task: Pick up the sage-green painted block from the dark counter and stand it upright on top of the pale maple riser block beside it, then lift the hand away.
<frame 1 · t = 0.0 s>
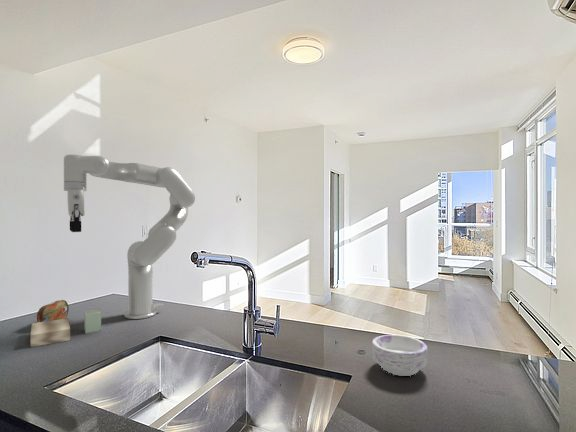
hand: (75, 231, 134), 37 cm above the worktop, tool pointing down, fingers open, 9 cm apart
white round bowl: (398, 370, 100), on the worktop
riser block: (50, 337, 122), on the worktop
tin: (53, 324, 137), on the worktop
block: (92, 330, 130), on the worktop
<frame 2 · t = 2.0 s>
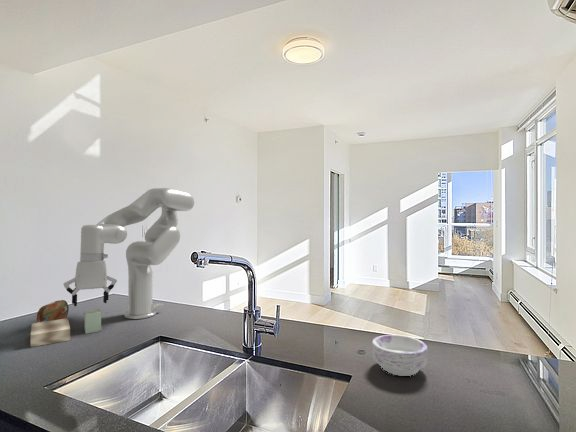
hand: (90, 303, 129), 10 cm above the worktop, tool pointing down, fingers open, 9 cm apart
nothing on the worktop moved.
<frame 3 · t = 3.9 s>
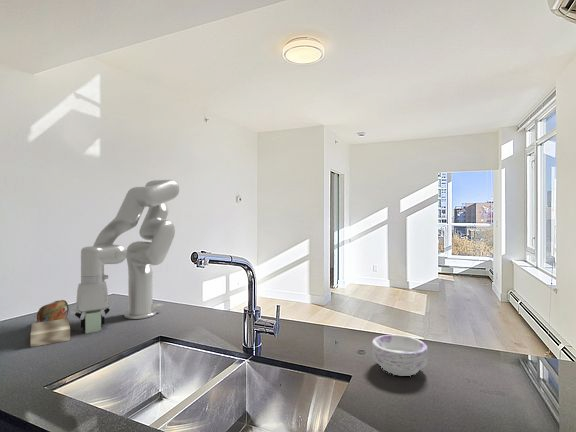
hand: (92, 327, 130), 1 cm above the worktop, tool pointing down, fingers closed on block, 5 cm apart
block: (92, 330, 130), on the worktop, touching gripper
everything else where it was.
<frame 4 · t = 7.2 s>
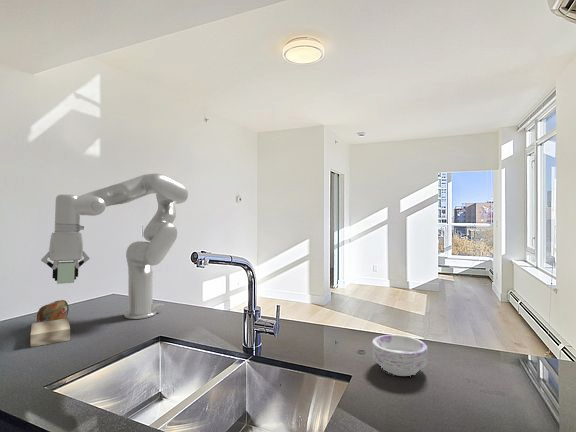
hand: (65, 279, 124), 20 cm above the worktop, tool pointing down, fingers closed on block, 5 cm apart
block: (65, 282, 124), point 19 cm above the worktop, touching gripper
everything else where it was.
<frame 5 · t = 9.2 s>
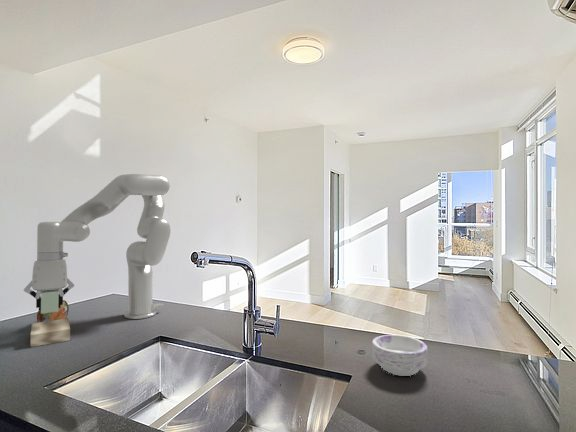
hand: (49, 307, 122), 11 cm above the worktop, tool pointing down, fingers closed on block, 5 cm apart
block: (49, 310, 122), point 9 cm above the worktop, touching gripper
everything else where it was.
when the fingers open (6 cm above the worktop, at t = 10.8 s): block drops 1 cm, resting on riser block.
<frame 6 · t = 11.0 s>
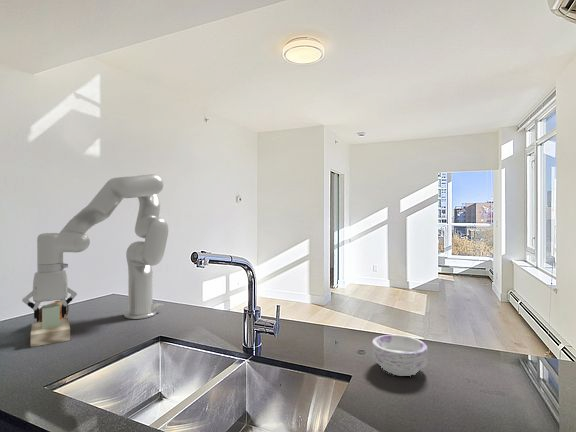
hand: (50, 318, 122), 7 cm above the worktop, tool pointing down, fingers open, 6 cm apart
block: (51, 325, 122), point 4 cm above the worktop, touching riser block
everything else where it was.
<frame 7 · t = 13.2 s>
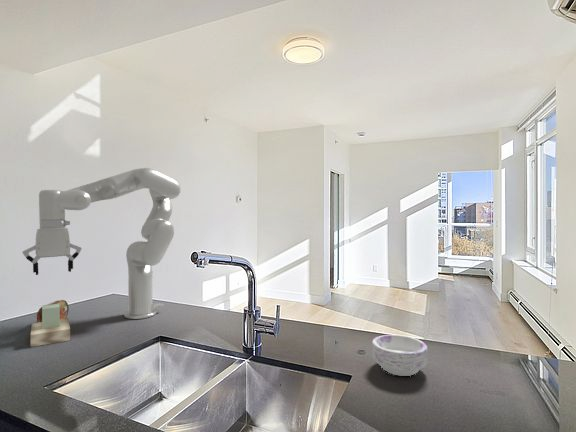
hand: (53, 272, 123), 23 cm above the worktop, tool pointing down, fingers open, 9 cm apart
nothing on the worktop moved.
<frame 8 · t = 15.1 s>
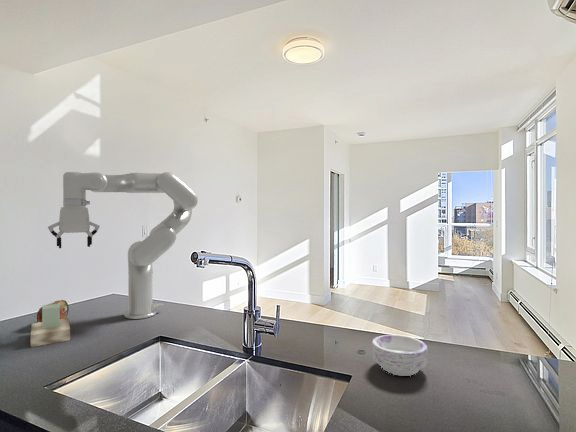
hand: (74, 247, 136), 30 cm above the worktop, tool pointing down, fingers open, 9 cm apart
nothing on the worktop moved.
at the end: block inside the target area on the riser block (0.1 cm from its centre), point 4.0 cm above the riser block's base; block tilted 0°; the gripper is holding nothing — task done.
